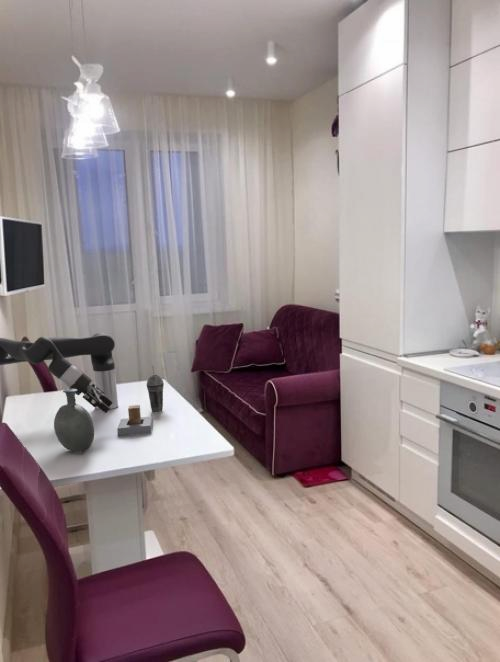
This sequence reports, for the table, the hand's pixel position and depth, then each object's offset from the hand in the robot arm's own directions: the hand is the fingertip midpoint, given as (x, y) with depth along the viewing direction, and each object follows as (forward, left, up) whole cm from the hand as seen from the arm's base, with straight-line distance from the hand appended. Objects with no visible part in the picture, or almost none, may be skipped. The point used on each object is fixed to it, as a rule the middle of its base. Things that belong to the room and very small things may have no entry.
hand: (109, 407), depth 197 cm
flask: (+2, -21, -10) cm, 23 cm away
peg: (+7, +5, -10) cm, 13 cm away
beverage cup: (+1, +29, -10) cm, 31 cm away
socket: (+7, +5, -10) cm, 13 cm away
